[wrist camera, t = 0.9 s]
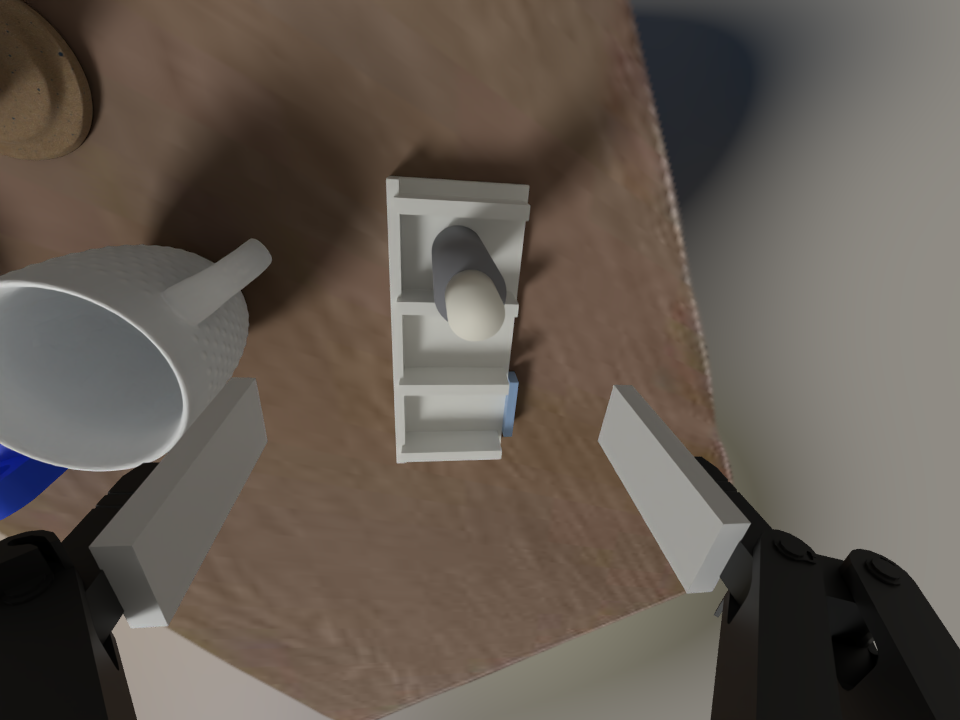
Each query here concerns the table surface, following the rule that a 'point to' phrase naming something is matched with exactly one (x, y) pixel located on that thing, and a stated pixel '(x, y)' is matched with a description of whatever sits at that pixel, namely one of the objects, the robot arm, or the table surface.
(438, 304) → the two-tone capped cylinder
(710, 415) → the table surface
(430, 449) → the white compartment tray
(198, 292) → the mug
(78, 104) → the candle holder
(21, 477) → the bracket
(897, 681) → the robot arm
